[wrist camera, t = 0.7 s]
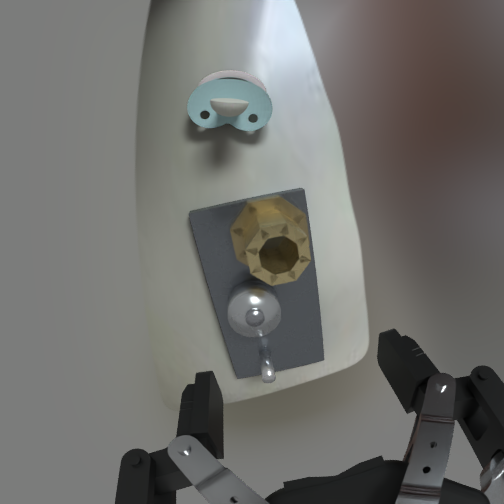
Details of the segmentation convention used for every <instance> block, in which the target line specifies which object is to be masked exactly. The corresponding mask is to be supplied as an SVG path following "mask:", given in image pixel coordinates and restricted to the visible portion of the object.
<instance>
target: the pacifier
mask: <svg viewBox="0 0 504 504" xmlns="http://www.w3.org/2000/svg"><path fill="white" fill-rule="evenodd" d="M236 79H238V80H236ZM187 108H188V113H189V116H190V118H191V119H192V121H193V122H194V123H196V124H197V125H199V126H201V127H205V128H215V127H219V126H222V125H224V124H227V123H228V124H231V125H232V126H234V127H235V128H237V129H240V130H244V131H254V130H257V129H260V128H261V127H263V126H264V125H265V124H267V122H268V121H269V119H270V117H271V114H272V103H271V100H270V98H269V96H268V94H267V93H266V88H265V86H264V84H263V83H262V82H261V81H260V80H259V79H258V78H256V77H254V76H253V75H251V74H248V73H245V72H241V71H235V70H225V71H219V72H215V73H213V74H210V75H208V76H206V77H205V78H204V79H202V81H201V82H200V83H199V84H198V87H197V88H196V89H195V90H194V92H193V93H192V94H191V96H190V98H189V101H188V106H187ZM202 111H208V112H209V113H210V116H209V118H208V119H202V118H201V117H200V114H201V112H202ZM251 114H255V115H257V117H258V120H257V122H255V123H251V122H250V121H249V120H248V117H249V116H250V115H251Z"/></svg>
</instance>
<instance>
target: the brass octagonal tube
mask: <svg viewBox="0 0 504 504" xmlns="http://www.w3.org/2000/svg"><path fill="white" fill-rule="evenodd" d="M230 233H231V237H232V241H233V246H234V250H235V254H236V258H237V260H239V261H240V262H242V263H244V264H245V265H247V266H249V268H250V273H251V274H252V275H254V276H255V277H257V278H259V279H261V280H262V281H264V282H266V283H267V284H269V285H271V286H274V285H278V284H283V283H287V282H292V281H296V280H297V279H298V277H299V276H300V275H301V274H302V272H303V271H304V270H305V268H306V267H307V266H308V264H309V263H310V262H311V256H310V249H309V244H310V241H309V234H308V227H307V220H306V214H305V213H304V212H303V211H301V210H300V209H298V208H297V207H295V206H294V205H292V204H291V203H290V202H288V201H287V200H285V199H284V198H282V197H281V196H279V195H273V196H268V197H263V198H258V199H253V200H249V201H247V202H246V203H245V205H244V206H243V208H242V209H241V211H240V212H239V214H238V215H237V217H236V218H235V220H234V221H233V223H232V224H231V226H230ZM283 235H284V236H286V237H285V238H284V239H283V241H282V242H281V244H280V245H279V246H278V247H274V248H269V249H265V248H263V247H262V246H263V245H264V243H265V242H266V240H267V239H269V238H274V237H278V236H283Z"/></svg>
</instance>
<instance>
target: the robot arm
mask: <svg viewBox="0 0 504 504" xmlns="http://www.w3.org/2000/svg"><path fill="white" fill-rule="evenodd" d="M377 359H378V364H379V366H380V368H381V370H382V372H383V373H384V375H385V377H386V378H387V380H388V382H389V383H390V385H391V387H392V389H393V390H394V392H395V394H396V395H397V397H398V399H399V401H400V402H401V404H402V406H403V408H404V409H405V411H406V413H407V414H408V413H410V412H413V411H415V412H416V414H417V416H416V418H415V422H414V426H413V430H412V433H411V437H410V441H409V444H408V447H407V450H406V453H405V455H404V458H403V460H402V461H399V460H385V461H384V460H383V457H382V456H379V457H376V458H373V459H370V460H367V461H364V462H361V463H359V464H357V465H355V466H353V467H352V468H350V469H348V470H346V471H345V472H342V473H341V474H339V475H336V476H328V477H307V478H302V479H297V480H292V481H287V482H283V483H284V488H282V489H279V490H277V491H275V492H274V493H272V494H271V495H269V496H268V497H267V498H265V499H263V498H262V497H261V496H259V495H258V494H257V493H256V492H255V491H253V490H252V489H251V488H250V487H249V486H247V485H246V484H245V483H244V482H243V481H242V480H241V479H240V478H238V477H237V476H236V475H235V474H234V473H233V472H232V471H231V470H229V469H228V468H225V467H224V466H223V465H222V464H221V463H220V462H219V461H218V460H217V459H223V458H224V449H223V398H222V393H221V390H220V388H219V385H218V383H217V380H216V378H215V375H214V373H213V371H206V372H199V373H196V378H195V384H188V385H187V386H186V388H185V390H184V391H183V393H182V399H181V406H180V413H179V421H178V428H177V435H176V438H175V439H173V440H172V441H171V442H170V444H169V446H168V447H167V448H165V449H163V450H159V451H156V452H152V453H149V454H148V453H147V452H146V451H144V450H142V449H132V450H130V451H128V452H127V453H126V454H125V455H124V456H123V458H122V460H121V466H120V472H119V478H118V485H117V492H116V499H115V504H176V490H179V489H182V488H186V487H189V486H192V485H194V486H195V488H196V489H197V490H198V491H199V493H200V494H201V495H202V496H203V497H204V498H205V499H206V500H207V501H208V502H209V503H210V504H504V383H503V382H502V381H501V379H500V378H499V377H498V375H497V374H496V373H495V372H494V370H493V369H491V368H490V367H488V366H478V367H476V368H474V369H473V370H472V372H471V374H470V376H466V377H460V378H453V377H452V376H451V375H449V374H447V373H440V372H439V371H438V369H437V368H436V367H435V366H434V364H433V363H432V362H431V360H430V359H429V358H428V357H427V355H426V354H424V352H423V350H422V349H421V348H420V347H419V345H418V344H417V343H416V342H415V340H413V339H411V338H410V337H408V336H406V335H405V336H402V337H401V336H400V334H399V333H398V332H397V331H396V329H391V330H388V331H385V332H382V333H380V334H379V344H378V355H377ZM454 420H457V421H458V422H459V424H460V426H461V428H462V430H463V431H464V433H465V435H466V437H467V439H468V440H469V443H470V444H471V446H472V448H473V450H474V452H475V454H476V456H477V458H478V460H479V462H480V464H481V466H482V467H483V470H482V472H481V474H480V486H481V491H480V490H477V489H475V488H471V487H469V486H466V485H463V484H460V483H457V482H455V481H452V480H449V479H447V478H444V475H445V471H446V467H447V462H448V458H449V453H450V448H451V443H452V437H453V431H454V425H455V421H454Z"/></svg>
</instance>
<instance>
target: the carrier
mask: <svg viewBox="0 0 504 504" xmlns="http://www.w3.org/2000/svg"><path fill="white" fill-rule="evenodd" d="M273 195H279V196H281V197H282V198H284V199H285V200H287V201H288V202H290V203H291V204H292V205H294V206H295V207H297V208H298V209H300V210H301V211H303V212H304V213H305V214H306V220H307V227H308V234H309V241H310V244H309V249H310V256H311V262H310V263H309V264H308V266H307V267H306V268H305V270H304V271H303V272H302V274H301V275H300V276H299V277H298V279H297V280H296V281H292V282H287V283H283V284H278V285H274V286H271V285H269V284H267V283H266V282H264V281H262V280H261V279H259V278H257V277H255V276H254V275H252V274H251V273H250V268H249V266H247V265H245V264H244V263H242V262H240V261H239V260H237V258H236V254H235V250H234V246H233V241H232V237H231V233H230V226H231V224H232V223H233V221H234V220H235V218H236V217H237V215H238V214H239V212H240V211H241V209H242V208H243V206H244V205H245V203H246V202H247V201H249V200H253V199H258V198H263V197H268V196H273ZM189 218H190V222H191V225H192V229H193V233H194V237H195V240H196V244H197V248H198V251H199V255H200V259H201V262H202V266H203V269H204V273H205V276H206V280H207V283H208V287H209V290H210V293H211V297H212V300H213V303H214V307H215V310H216V313H217V317H218V320H219V323H220V326H221V329H222V333H223V336H224V339H225V342H226V345H227V348H228V351H229V354H230V357H231V360H232V363H233V366H234V369H235V372H236V375H237V378H238V379H239V378H245V377H250V376H256V375H261V374H262V379H263V381H264V382H265V383H272V382H273V381H275V379H276V377H275V372H276V371H281V370H285V369H290V368H294V367H299V366H303V365H307V364H311V363H315V362H319V361H323V360H324V350H323V337H322V326H321V315H320V305H319V295H318V286H317V277H316V268H315V260H314V252H313V245H312V237H311V230H310V223H309V216H308V210H307V203H306V197H305V190H304V189H303V188H298V189H292V190H287V191H282V192H277V193H272V194H267V195H262V196H257V197H252V198H247V199H242V200H238V201H233V202H228V203H224V204H219V205H215V206H211V207H206V208H202V209H198V210H193V211H190V212H189ZM285 237H286V236H284V235H283V236H278V237H274V238H269V239H267V240H266V242H265V243H264V245H263V246H262V247H263V248H265V249H269V248H274V247H278V246H279V245H280V244H281V242H282V241H283V239H284V238H285Z"/></svg>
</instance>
